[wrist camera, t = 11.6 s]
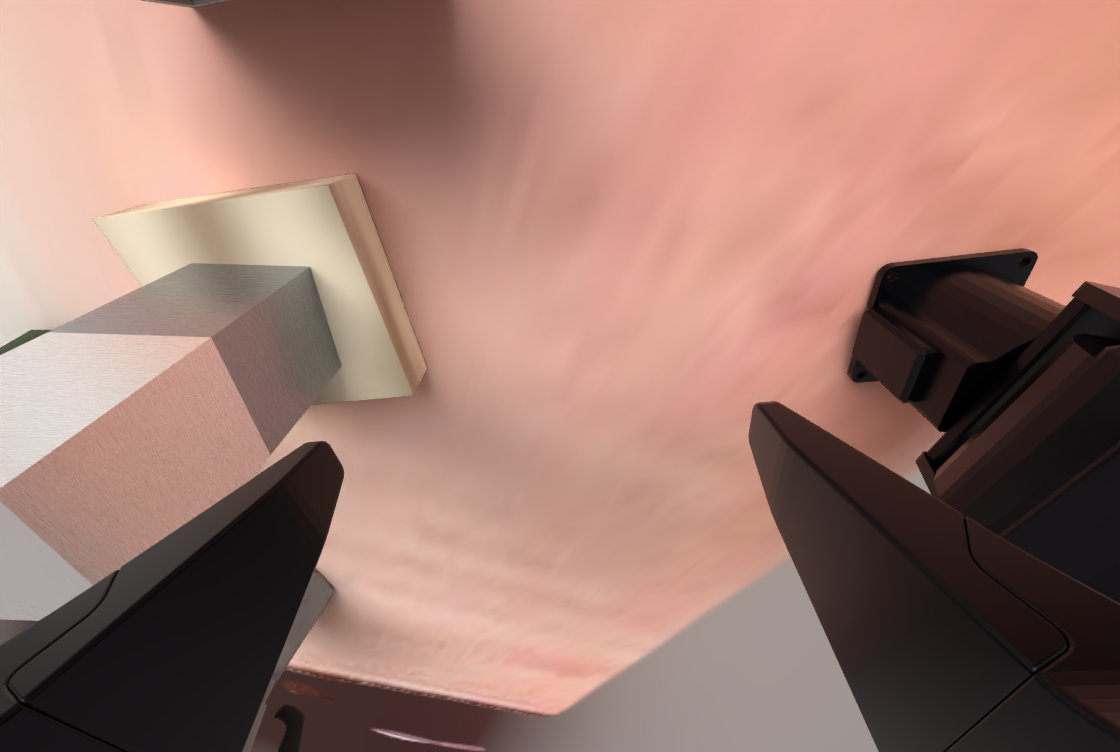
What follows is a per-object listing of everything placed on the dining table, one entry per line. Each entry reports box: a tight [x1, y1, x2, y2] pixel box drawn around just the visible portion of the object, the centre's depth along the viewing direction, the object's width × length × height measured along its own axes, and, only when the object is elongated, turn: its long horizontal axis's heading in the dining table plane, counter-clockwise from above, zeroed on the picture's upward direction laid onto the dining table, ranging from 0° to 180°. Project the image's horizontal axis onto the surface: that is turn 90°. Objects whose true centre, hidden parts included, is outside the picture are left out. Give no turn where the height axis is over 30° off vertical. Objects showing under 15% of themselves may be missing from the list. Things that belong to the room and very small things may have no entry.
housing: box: [0, 263, 342, 621], centre depth 14 cm, size 5×5×12 cm
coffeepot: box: [243, 570, 333, 752], centre depth 30 cm, size 15×9×18 cm, turn 37°
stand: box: [92, 173, 427, 405], centre depth 20 cm, size 10×10×2 cm
